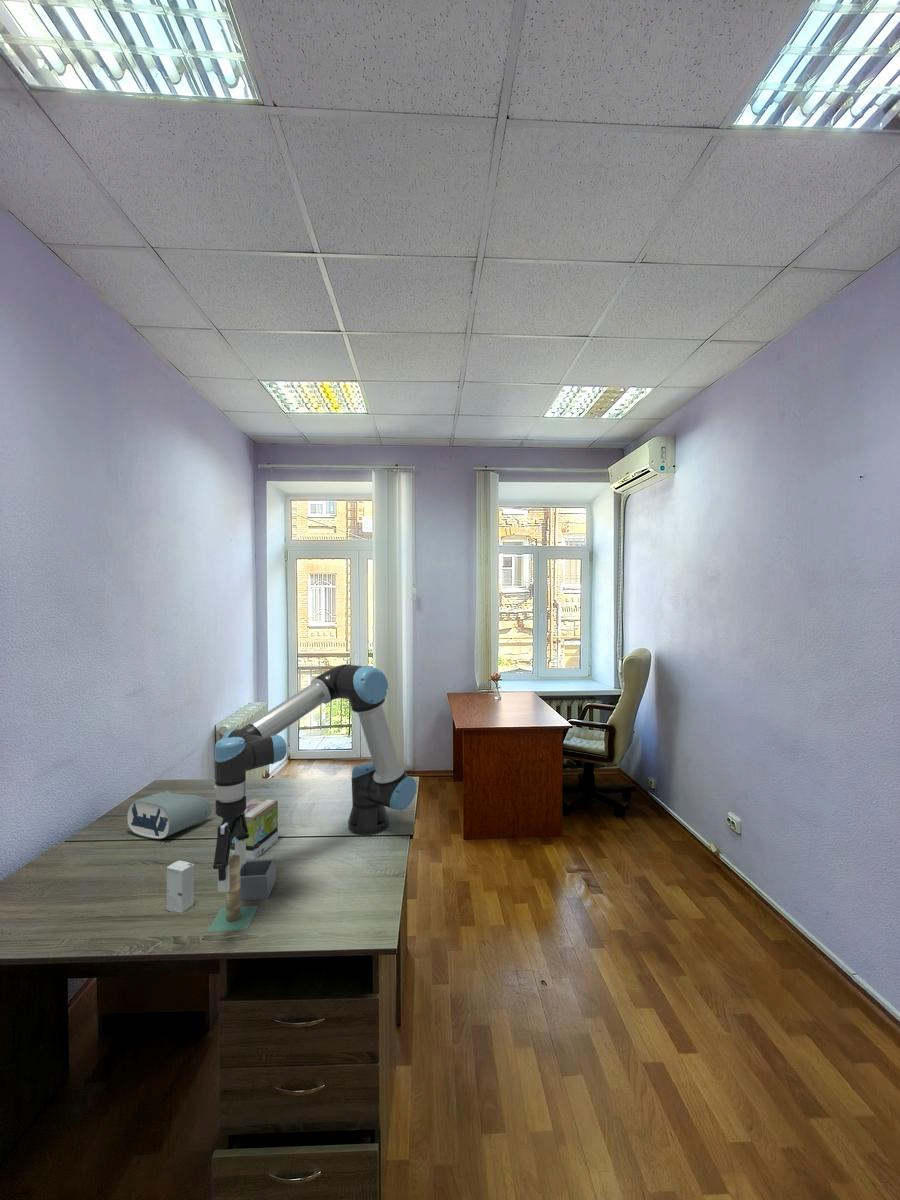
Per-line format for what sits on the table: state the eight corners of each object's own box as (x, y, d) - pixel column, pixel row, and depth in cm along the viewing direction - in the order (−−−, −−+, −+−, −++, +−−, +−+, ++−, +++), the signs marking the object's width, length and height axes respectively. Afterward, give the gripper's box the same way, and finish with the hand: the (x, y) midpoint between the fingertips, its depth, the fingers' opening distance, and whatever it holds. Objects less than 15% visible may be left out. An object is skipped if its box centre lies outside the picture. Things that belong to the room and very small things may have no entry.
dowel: (242, 913, 141) (241, 854, 140) (238, 921, 137) (237, 861, 137) (228, 914, 140) (228, 855, 140) (224, 922, 137) (223, 861, 137)
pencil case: (125, 833, 191) (126, 798, 191) (170, 815, 208) (171, 783, 209) (168, 843, 182) (169, 806, 183) (212, 824, 200) (212, 790, 201)
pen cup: (276, 882, 157) (275, 859, 157) (267, 900, 147) (267, 876, 147) (243, 884, 156) (243, 860, 156) (233, 902, 146) (232, 878, 146)
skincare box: (165, 910, 143) (164, 867, 143) (179, 901, 148) (178, 859, 147) (182, 915, 141) (181, 871, 141) (195, 906, 145) (194, 863, 145)
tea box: (255, 861, 169) (254, 816, 169) (227, 859, 171) (226, 814, 171) (279, 840, 184) (278, 798, 184) (253, 838, 186) (252, 797, 186)
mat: (258, 907, 144) (258, 905, 144) (247, 931, 134) (247, 928, 134) (221, 910, 143) (220, 908, 143) (207, 933, 133) (207, 931, 133)
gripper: (231, 781, 150) (233, 854, 151) (197, 818, 125) (199, 905, 126) (258, 780, 151) (260, 852, 151) (229, 816, 126) (231, 903, 126)
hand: (232, 876), depth 138 cm, fingers open, 13 cm apart
